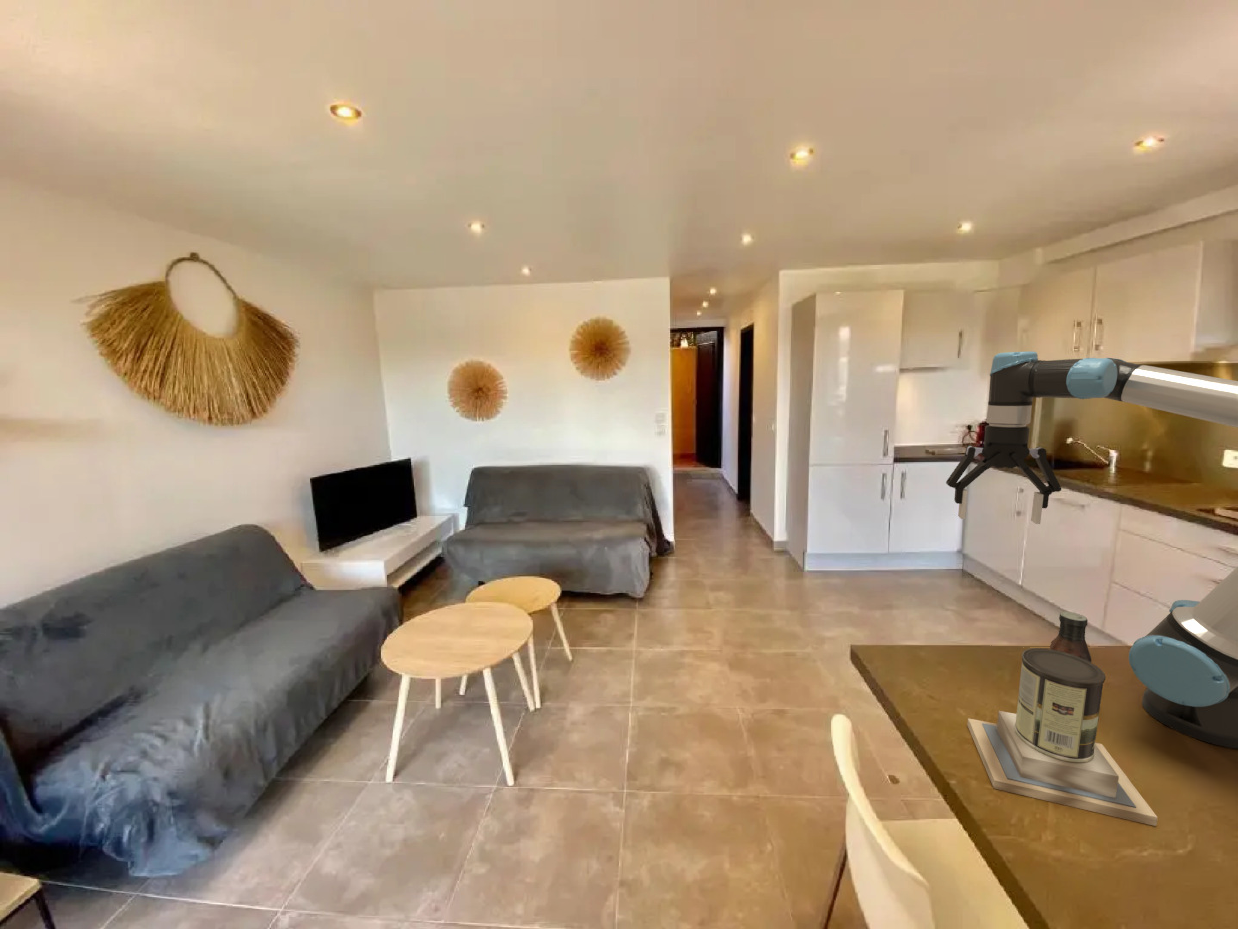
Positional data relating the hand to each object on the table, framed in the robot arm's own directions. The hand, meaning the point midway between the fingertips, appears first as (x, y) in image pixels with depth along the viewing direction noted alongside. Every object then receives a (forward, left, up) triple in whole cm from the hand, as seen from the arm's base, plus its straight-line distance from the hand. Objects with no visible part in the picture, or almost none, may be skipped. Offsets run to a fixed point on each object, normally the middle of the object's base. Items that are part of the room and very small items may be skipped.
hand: (997, 520), depth 110 cm
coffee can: (-1, +34, -29) cm, 45 cm away
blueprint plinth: (-1, +34, -35) cm, 49 cm away
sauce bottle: (-10, +14, -35) cm, 39 cm away
